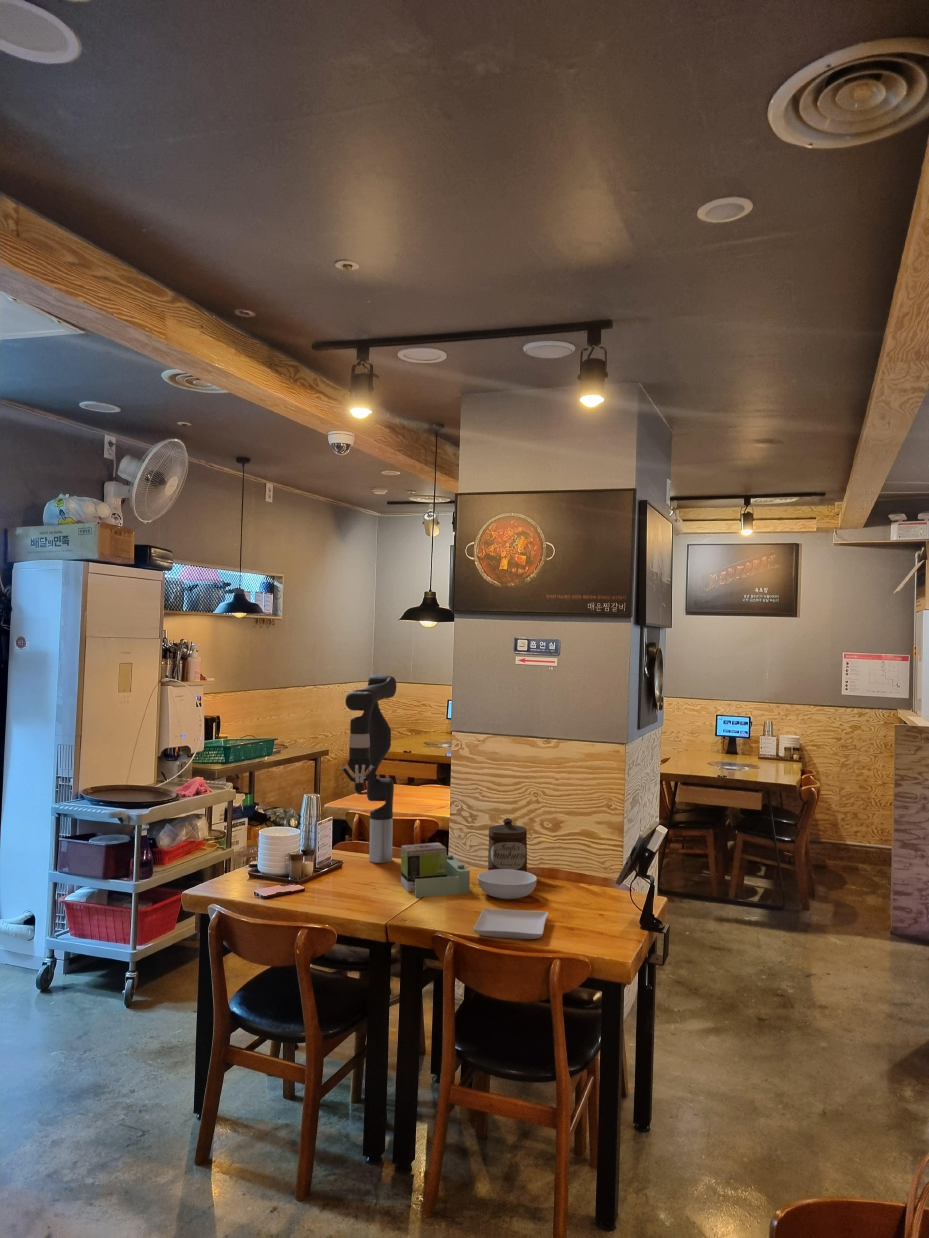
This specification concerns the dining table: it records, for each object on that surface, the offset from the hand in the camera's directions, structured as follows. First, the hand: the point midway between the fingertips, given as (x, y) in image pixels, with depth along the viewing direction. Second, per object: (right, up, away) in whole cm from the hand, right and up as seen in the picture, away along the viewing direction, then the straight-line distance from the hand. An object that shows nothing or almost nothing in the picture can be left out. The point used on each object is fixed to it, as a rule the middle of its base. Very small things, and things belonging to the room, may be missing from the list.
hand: (358, 792), depth 313 cm
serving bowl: (+54, -34, -15) cm, 65 cm away
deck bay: (+28, -33, -5) cm, 44 cm away
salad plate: (+54, -33, -50) cm, 80 cm away
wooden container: (+55, -34, +11) cm, 66 cm away
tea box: (+24, -34, -5) cm, 42 cm away
